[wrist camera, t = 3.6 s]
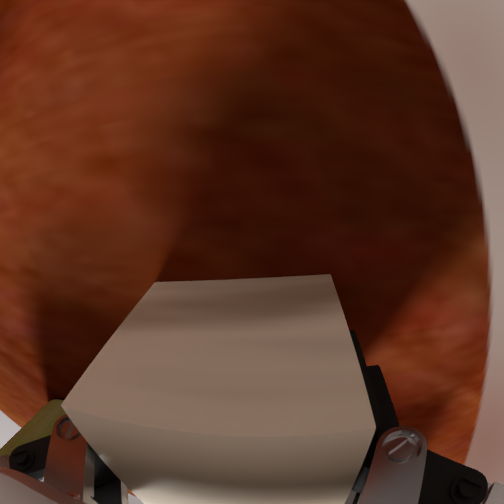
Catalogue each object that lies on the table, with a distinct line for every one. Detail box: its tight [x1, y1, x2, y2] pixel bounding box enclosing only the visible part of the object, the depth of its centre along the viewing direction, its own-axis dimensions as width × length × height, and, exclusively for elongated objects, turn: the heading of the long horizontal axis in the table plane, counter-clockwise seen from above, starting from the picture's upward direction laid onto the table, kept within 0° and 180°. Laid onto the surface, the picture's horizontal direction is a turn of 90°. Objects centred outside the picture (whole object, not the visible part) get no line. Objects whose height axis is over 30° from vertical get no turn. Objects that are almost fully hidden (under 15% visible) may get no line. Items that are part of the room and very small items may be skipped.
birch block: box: [61, 274, 376, 504], centre depth 8 cm, size 6×6×6 cm
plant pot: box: [0, 399, 66, 456], centre depth 11 cm, size 9×9×9 cm
